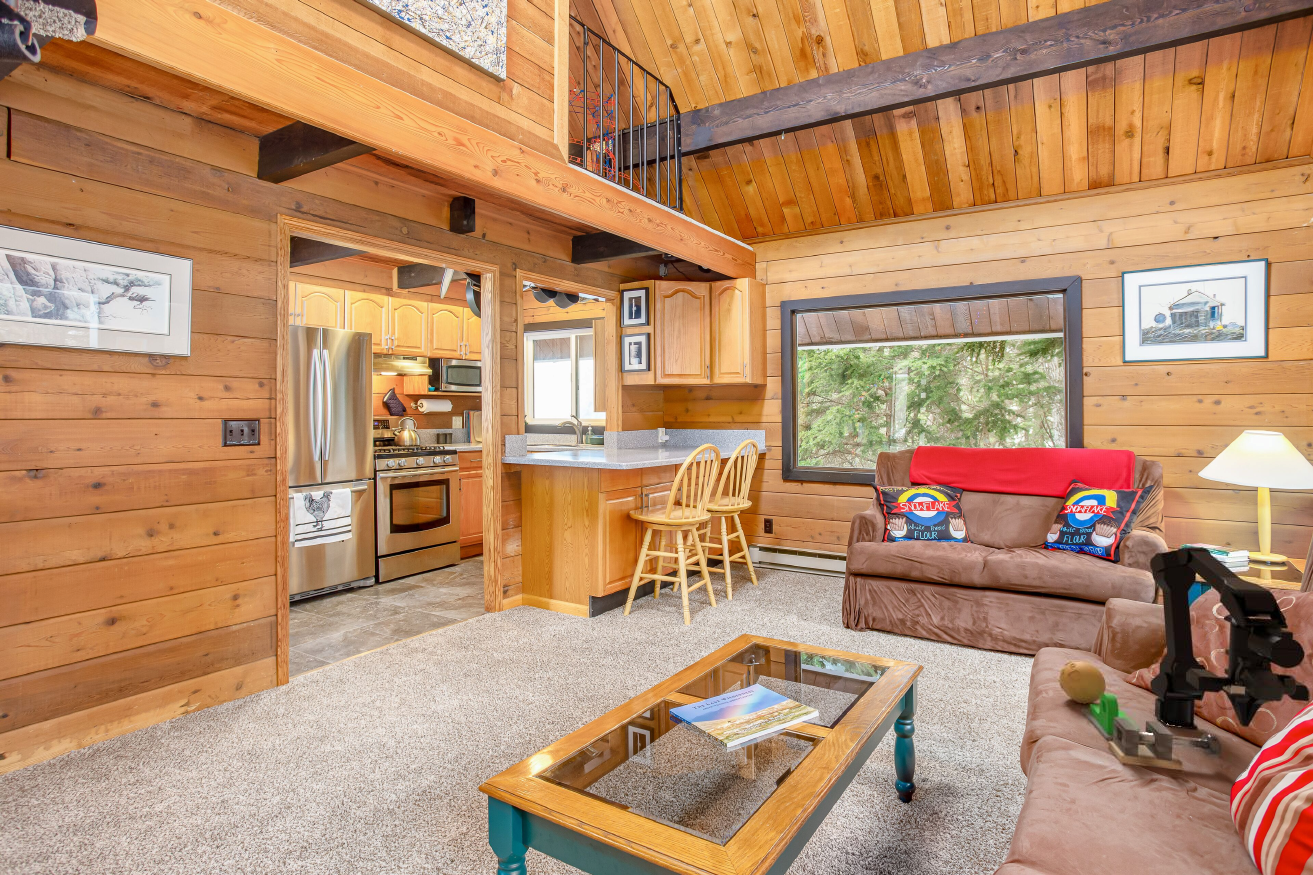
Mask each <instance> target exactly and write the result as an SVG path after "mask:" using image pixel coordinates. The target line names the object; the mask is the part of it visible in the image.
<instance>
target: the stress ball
mask: <svg viewBox="0 0 1313 875" xmlns="http://www.w3.org/2000/svg"><path fill="white" fill-rule="evenodd" d="M1058 683H1059V685H1060V688H1061V690H1063V692H1064V693H1065V694H1066V696H1067V697H1069V698H1070V699H1072V700H1074V701H1075V702H1076V703H1078V704H1081V703H1083V704H1082V705H1087V704H1086V703H1088V704H1093V703H1094V702H1097V701H1100V696H1101V694H1102V693H1105V692H1106V688H1107V684H1106V679H1105V677H1104V675H1103V674H1102V672H1101V671H1100V670H1099V669H1098V668H1097V667H1096V666H1094V665H1093V664H1091V663H1089V662H1085V661H1070V662H1068V663H1066V664H1064V667H1063V668H1062V669H1061V671H1060V674H1059V680H1058Z"/></svg>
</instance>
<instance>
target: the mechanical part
mask: <svg viewBox="0 0 1313 875" xmlns="http://www.w3.org/2000/svg"><path fill="white" fill-rule="evenodd" d="M1089 706H1090V707H1089V710H1090V713H1091V714H1092V715H1093V716H1094V718H1095V719H1096V720H1097V721H1098V723H1099V724H1100V725H1101V727H1102V728H1103V729H1104V730H1105V732H1106V733H1107V734H1110V735H1113V732H1114V717H1119V718H1127V719H1128V720H1129V721H1130V722H1131V723H1132V724H1133V725H1134V726H1135V727H1136V726H1137V725H1136V724H1135V723H1134V722H1133V720H1131V719H1130V717H1128V716H1127V714H1126V713H1125V712H1124V711H1123V710H1121V709H1119V702H1118V699H1117V697H1116V695H1115V694H1112V693H1105V692H1104V693H1102V694H1101V696H1100V699H1099V704H1096V703H1095V704H1094V703H1089ZM1137 727H1138V726H1137ZM1137 727H1136V728H1137ZM1138 728H1139V727H1138ZM1138 728H1137V729H1138ZM1139 729H1140V728H1139ZM1139 729H1138V730H1139Z"/></svg>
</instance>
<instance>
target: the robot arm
mask: <svg viewBox="0 0 1313 875" xmlns="http://www.w3.org/2000/svg"><path fill="white" fill-rule="evenodd" d="M1149 566H1150V569H1151V573H1152V579H1153V580H1154V581H1155V583H1156V584H1157V585H1158V586H1159V588H1160V589H1161V591H1162V601H1163V602H1162V603H1163V615H1164V626H1165V627H1164V630H1165V642H1166V643H1165V644H1166V653H1165V655H1164V657H1163V658H1162V660H1161V661H1160V662H1159V669H1158V670H1159V673H1158V674H1157V675H1156V676H1154V678H1152V680H1150V682H1149V683H1150V689H1151V690H1150V691H1151V692H1152V693H1154V694H1155V695H1156V696H1157V697H1156V698H1155V700H1154V701H1155V702H1154V712H1155V715H1156V716H1157V717H1158V718H1159V719H1160V720H1162V721H1163V722H1164V723H1165V724H1167V723H1168V724H1169V725H1175V726H1181V727H1180V728H1185V727H1186V728H1187V729H1195V730H1196V729H1197V730H1198V727H1199V726H1198V725H1196V724H1195V706H1196V701H1199V702H1202V701H1203V698H1204V696H1205V693H1207V692H1209V693H1217V694H1219V693H1220V692H1221V691H1222V692H1223V693H1225V695H1226V696H1227V699H1228V700H1229V702H1230V703H1231V707H1232V708H1233V710H1234V713H1235V715H1236V717H1237V720H1238V723H1239V724H1240V725H1241V726H1242V727H1244V728H1245V727H1247V728H1248V727H1249V725H1250V724H1251V722H1252V721H1253V719H1254V717H1255V716H1256V714H1257V712H1258V711H1259V709H1260V708H1261V707H1262V706H1263V705H1265V704H1268V703H1269V702H1282V700H1283V699H1284V698H1283V697H1284V695H1286V696H1287V697H1288V698H1289V699H1290V700H1292V701H1301V702H1310V701H1311V691H1310V689H1309V687H1308V686H1307V685H1306V684H1303V683H1301V682H1300V681H1299V680H1296V678H1295V677H1294V676H1293V675H1292V674H1284V673H1282V674H1280V673H1273V670H1272V664H1274V665H1276V666H1278V667H1280V668H1284V669H1293V668H1296V667H1298V666H1299V665H1300V664H1301V663H1303V660H1304V659H1305V653H1306V652H1305V650H1304V648H1303V646H1302V644H1301V643H1300V642H1299V641H1297V640H1296V639H1294V633H1293V631H1291V630H1287V629H1288V628H1289V625H1288V624H1287V622H1286V620H1287V619H1286V617H1285V615H1284V613H1283V612H1282V610H1281V608H1280V605H1279V603H1278V602H1277V599H1276V597H1275V595H1274V594H1273V593H1272V592H1271V591H1270V590H1269V589H1267V588H1266V587H1264V586H1261V585H1259V584H1257V583H1254V582H1251V581H1248V580H1244V579H1243V578H1241V577H1239V576H1238V575H1237V574H1236V573H1234V572H1233V571H1232V570H1231V569H1230V568H1228V567H1227V566H1226V565H1225V564H1223V562H1221V561H1220V560H1219V559H1218V558H1216V557H1215V556H1213V555H1212V554H1211V551H1210V550H1209V549H1208V548H1205V547H1203V546H1201V547H1200V546H1184V547H1181V548H1178V549H1175V550H1170V551H1165V552H1156V553H1155V554H1154V556H1153V557H1151V559H1150V561H1149ZM1197 575H1198V576H1199V577H1200V578H1202V580H1203V581H1205V582H1206V583H1207V584H1208V585H1210V586H1211V588H1213V589H1214V590H1215V591H1216V592H1217V593H1218V594H1219V602H1220V603H1221V605H1222V606H1223V607H1224V608H1225V610H1226V611H1227V612H1228V613H1229V614H1227V615H1225V616H1224V617H1223V620H1224V621H1226V622H1228V623H1229V645H1228V648H1225V653H1224V654H1225V655H1227V656H1228V666H1227V667H1228V668H1224V674H1225V675H1226V676H1221V675H1220V676H1219V675H1217V674H1216V673H1214V672H1213V671H1211V670H1210V669H1206V667H1205V665H1204V664H1200V662H1199V661H1198V660H1197V658H1196V657H1195V655H1194V646H1193V634H1192V633H1193V632H1192V620H1191V609H1190V608H1191V607H1190V596H1189V595H1190V594H1189V592H1190V590H1191V589H1192V588H1193V586H1194V584H1195V582H1196V581H1197ZM1271 663H1272V664H1271ZM1155 715H1154V716H1155ZM1156 716H1155V717H1156ZM1157 717H1156V718H1157ZM1158 718H1157V719H1158ZM1159 719H1158V720H1159ZM1160 720H1159V721H1160ZM1162 721H1161V722H1162ZM1163 722H1162V723H1163ZM1164 723H1163V724H1164ZM1165 724H1164V725H1165ZM1175 726H1174V727H1175Z"/></svg>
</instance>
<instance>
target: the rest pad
mask: <svg viewBox="0 0 1313 875" xmlns="http://www.w3.org/2000/svg"><path fill="white" fill-rule="evenodd" d="M1081 712H1082V714H1083V715H1084V716H1085V717H1086V718H1087V719H1088V721H1089V722H1090V723H1091V724H1092V725H1093V727H1094V728H1095V729H1096V730H1097V731H1098V732H1099V734H1100V735H1101V736H1102V737H1103V738H1104V739H1105V741H1106V740H1107V741H1113V735H1110V734H1107V733H1106V732H1105V730H1104V729H1103V728H1102V727H1101V725H1100V724H1099V723H1098V721H1097V720H1096V719H1095V718H1094V716H1093V715H1092V714H1091V713H1090V709H1087V708H1081ZM1136 727H1137V728H1138V729H1139V732H1143V731H1142V730H1141V729H1140V728H1139V727H1138V726H1137V725H1136ZM1142 744H1143V745H1145V743H1143V742H1139V745H1142Z"/></svg>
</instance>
